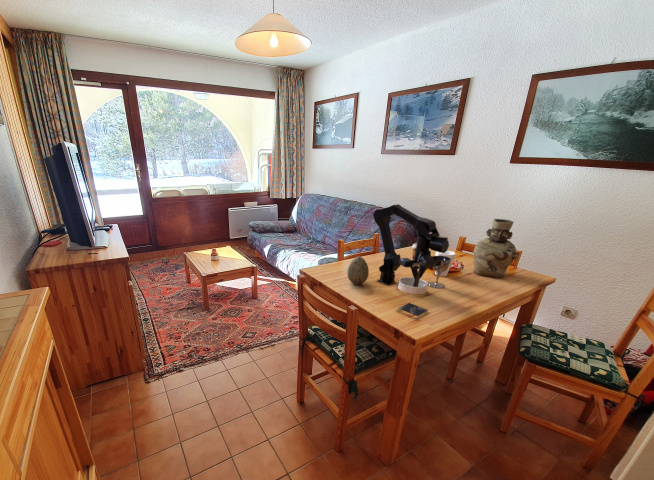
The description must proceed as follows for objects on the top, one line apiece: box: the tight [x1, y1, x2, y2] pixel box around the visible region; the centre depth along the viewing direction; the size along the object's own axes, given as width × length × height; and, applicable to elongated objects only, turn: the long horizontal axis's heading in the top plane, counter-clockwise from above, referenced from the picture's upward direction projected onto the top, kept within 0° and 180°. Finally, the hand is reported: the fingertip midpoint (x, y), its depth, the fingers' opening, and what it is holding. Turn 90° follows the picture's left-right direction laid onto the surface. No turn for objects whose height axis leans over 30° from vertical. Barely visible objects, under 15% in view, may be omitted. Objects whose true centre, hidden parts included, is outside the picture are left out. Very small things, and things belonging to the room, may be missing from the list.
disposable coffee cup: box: [411, 242, 419, 266], centre depth 190 cm, size 10×10×12 cm
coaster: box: [398, 302, 429, 317], centre depth 134 cm, size 9×9×2 cm
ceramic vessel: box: [473, 218, 520, 279], centre depth 171 cm, size 19×21×30 cm
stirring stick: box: [413, 270, 421, 287], centre depth 151 cm, size 4×4×10 cm
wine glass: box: [428, 256, 451, 289], centre depth 158 cm, size 8×8×15 cm
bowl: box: [397, 276, 429, 295], centre depth 153 cm, size 13×13×5 cm
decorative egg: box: [346, 256, 370, 286], centre depth 160 cm, size 11×11×15 cm
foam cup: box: [434, 249, 456, 277], centre depth 173 cm, size 10×9×13 cm
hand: (417, 278), depth 150 cm, fingers closed on stirring stick, 2 cm apart
